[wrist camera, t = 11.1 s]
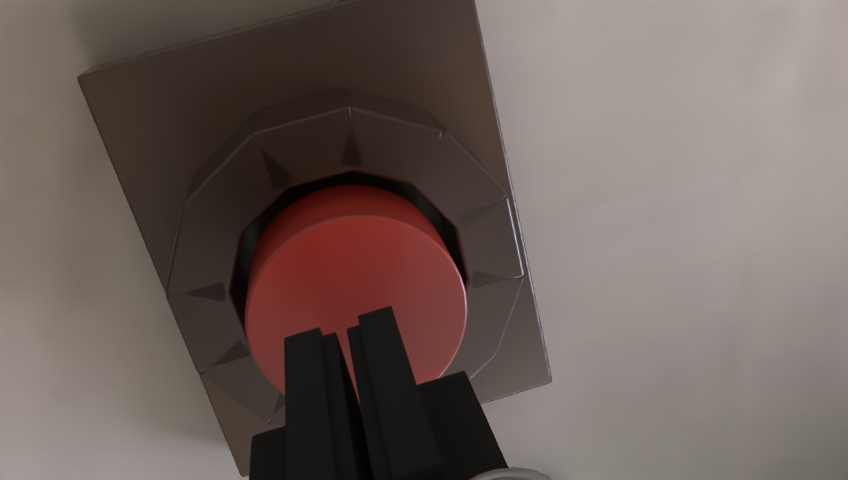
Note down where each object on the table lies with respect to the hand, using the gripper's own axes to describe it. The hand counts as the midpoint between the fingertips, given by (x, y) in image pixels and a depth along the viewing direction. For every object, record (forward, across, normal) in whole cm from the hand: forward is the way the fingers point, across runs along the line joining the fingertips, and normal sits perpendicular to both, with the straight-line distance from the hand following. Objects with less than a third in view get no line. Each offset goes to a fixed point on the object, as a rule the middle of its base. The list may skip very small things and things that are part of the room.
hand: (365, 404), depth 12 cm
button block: (+7, 0, 0) cm, 7 cm away
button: (+4, 0, 0) cm, 4 cm away
